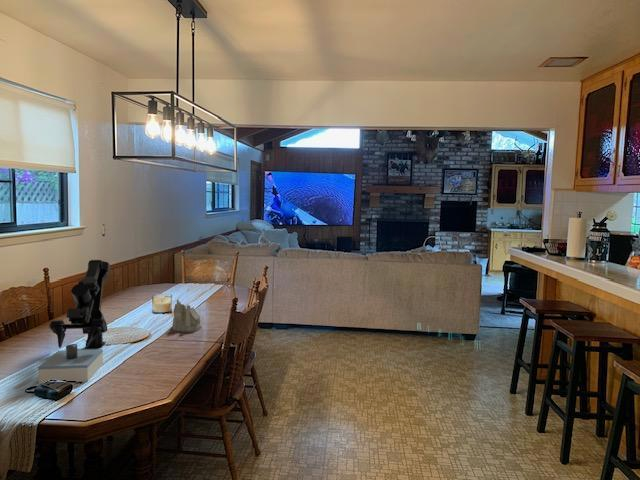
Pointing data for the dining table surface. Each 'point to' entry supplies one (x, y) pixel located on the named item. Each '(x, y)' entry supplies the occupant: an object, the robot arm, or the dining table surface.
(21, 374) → the dining table surface
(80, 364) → the lid
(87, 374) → the box
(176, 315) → the grey jagged lump
